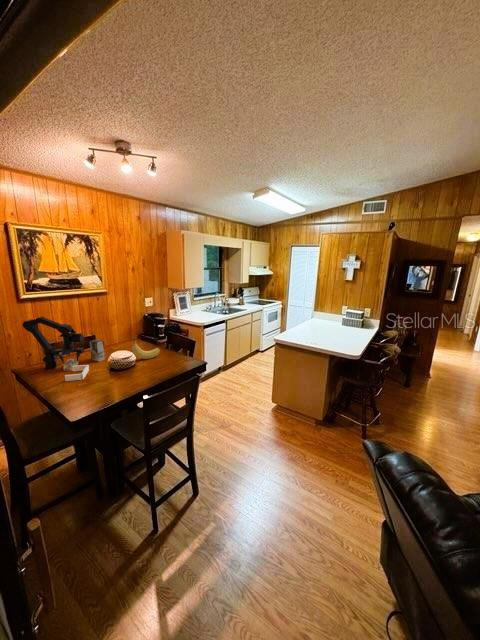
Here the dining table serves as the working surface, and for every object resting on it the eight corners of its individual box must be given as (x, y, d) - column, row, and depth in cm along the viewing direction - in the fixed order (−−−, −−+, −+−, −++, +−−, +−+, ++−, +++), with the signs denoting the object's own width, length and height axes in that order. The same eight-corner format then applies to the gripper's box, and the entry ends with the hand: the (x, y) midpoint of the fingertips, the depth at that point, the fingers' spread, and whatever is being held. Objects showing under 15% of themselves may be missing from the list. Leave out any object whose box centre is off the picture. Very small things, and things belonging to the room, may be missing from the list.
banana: (158, 354, 232) (157, 332, 227) (161, 356, 227) (160, 334, 223) (132, 360, 218) (130, 336, 214) (134, 362, 214) (132, 338, 209)
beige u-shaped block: (65, 381, 179) (64, 375, 178) (73, 371, 195) (72, 365, 194) (83, 379, 182) (82, 374, 181) (89, 369, 198) (88, 364, 197)
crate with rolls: (63, 370, 195) (62, 364, 193) (68, 364, 206) (68, 358, 205) (73, 370, 196) (73, 363, 195) (78, 363, 208) (77, 357, 207)
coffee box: (105, 359, 219) (103, 340, 215) (98, 361, 213) (96, 342, 209) (98, 357, 222) (96, 338, 219) (91, 359, 217) (89, 340, 213)
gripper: (49, 346, 186) (52, 367, 190) (79, 344, 192) (81, 364, 195) (55, 341, 197) (57, 361, 200) (83, 340, 202) (85, 359, 206)
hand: (70, 361), depth 200 cm, fingers open, 9 cm apart
